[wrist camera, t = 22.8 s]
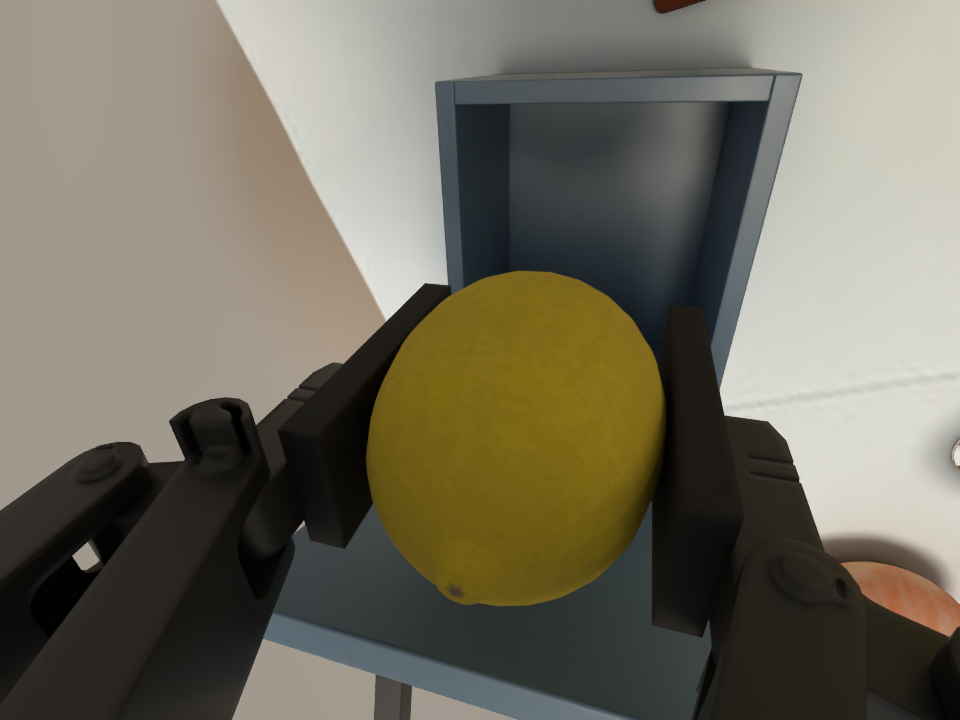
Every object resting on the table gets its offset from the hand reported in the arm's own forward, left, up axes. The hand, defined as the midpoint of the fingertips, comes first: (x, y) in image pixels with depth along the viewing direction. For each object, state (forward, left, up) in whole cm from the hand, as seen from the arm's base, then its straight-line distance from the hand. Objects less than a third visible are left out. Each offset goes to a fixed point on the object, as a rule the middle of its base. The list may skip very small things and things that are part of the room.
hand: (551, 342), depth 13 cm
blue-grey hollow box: (+1, +2, -19) cm, 19 cm away
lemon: (0, 0, 0) cm, 1 cm away
